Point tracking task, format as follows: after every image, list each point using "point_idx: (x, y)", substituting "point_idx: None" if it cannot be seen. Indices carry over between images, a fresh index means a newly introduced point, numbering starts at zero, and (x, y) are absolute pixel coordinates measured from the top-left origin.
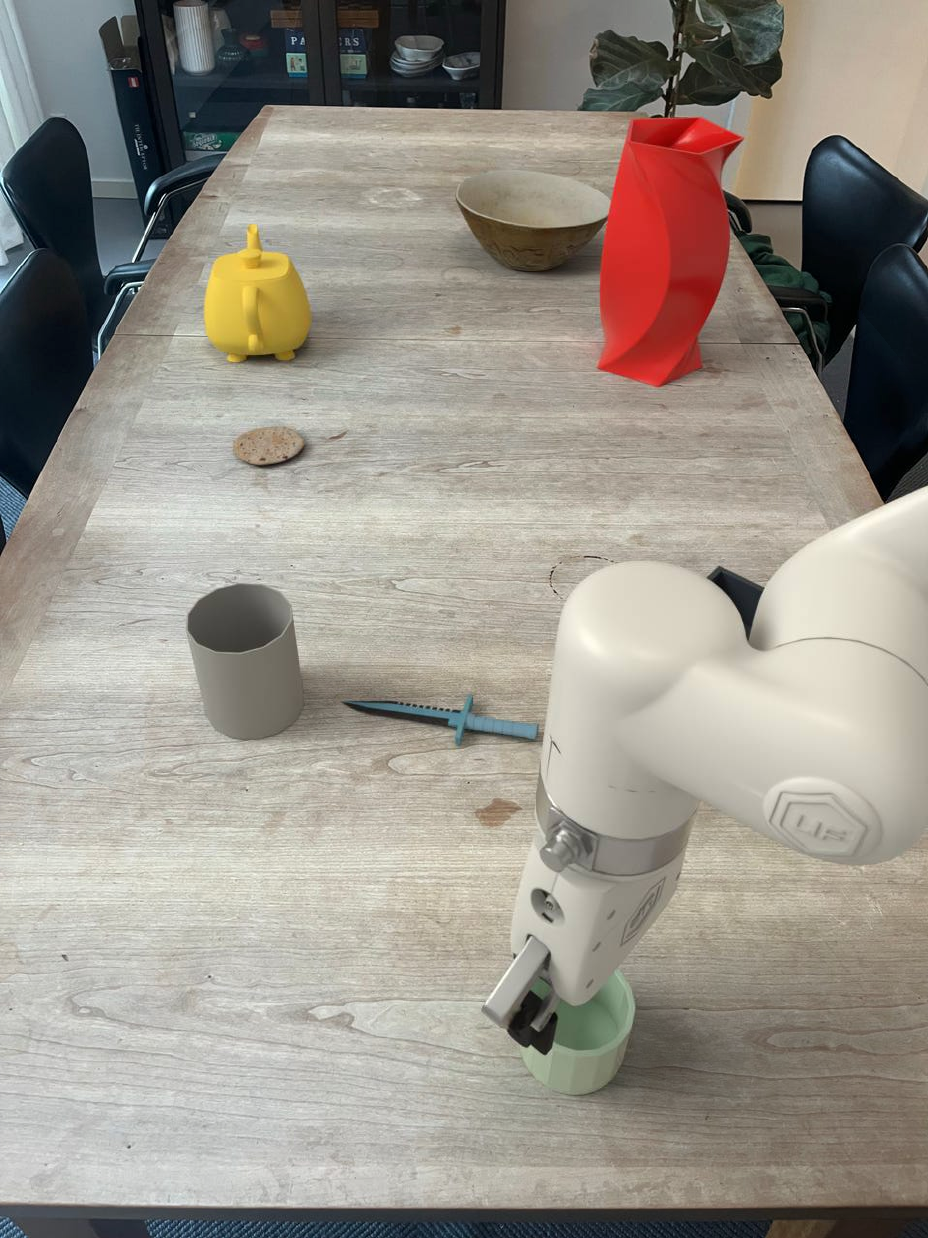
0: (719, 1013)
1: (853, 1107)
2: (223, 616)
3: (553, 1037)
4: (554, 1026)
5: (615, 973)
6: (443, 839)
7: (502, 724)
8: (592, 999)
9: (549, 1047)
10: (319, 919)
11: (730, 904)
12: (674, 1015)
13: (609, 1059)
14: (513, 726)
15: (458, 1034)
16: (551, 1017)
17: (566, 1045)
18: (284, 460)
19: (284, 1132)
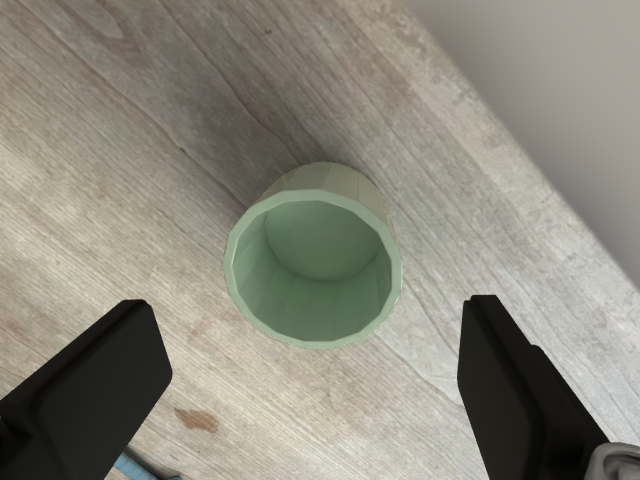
0: (151, 113)
1: None
2: None
3: (502, 334)
4: (546, 393)
5: (232, 264)
6: (260, 436)
7: (128, 473)
8: (268, 241)
9: (500, 312)
10: (408, 462)
11: (43, 193)
12: (201, 155)
13: (336, 183)
14: (120, 467)
15: (407, 315)
16: (564, 440)
17: (335, 229)
18: None
19: (609, 371)
